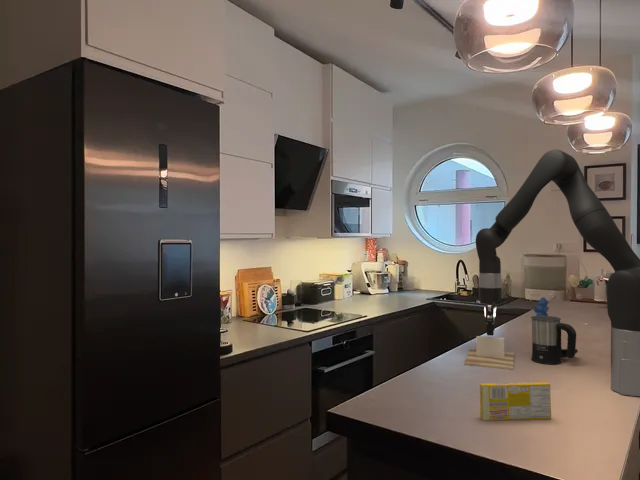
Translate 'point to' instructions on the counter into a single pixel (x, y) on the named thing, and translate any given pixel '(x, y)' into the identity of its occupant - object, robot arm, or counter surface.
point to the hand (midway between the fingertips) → (490, 332)
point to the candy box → (515, 401)
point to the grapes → (541, 307)
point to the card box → (490, 347)
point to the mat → (490, 360)
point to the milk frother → (551, 340)
